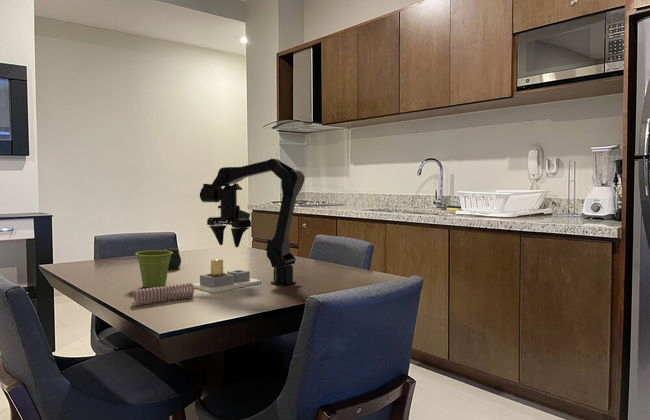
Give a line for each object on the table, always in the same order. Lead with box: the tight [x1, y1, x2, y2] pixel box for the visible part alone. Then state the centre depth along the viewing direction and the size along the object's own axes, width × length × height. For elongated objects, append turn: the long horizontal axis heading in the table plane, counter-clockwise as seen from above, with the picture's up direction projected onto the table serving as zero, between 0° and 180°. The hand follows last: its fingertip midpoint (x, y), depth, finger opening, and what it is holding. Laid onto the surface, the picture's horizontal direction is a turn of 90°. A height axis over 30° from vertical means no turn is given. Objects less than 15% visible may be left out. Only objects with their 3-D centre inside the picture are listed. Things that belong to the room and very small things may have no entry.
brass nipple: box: [210, 258, 224, 277], centre depth 162 cm, size 4×4×8 cm
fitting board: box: [192, 269, 262, 294], centre depth 165 cm, size 12×20×4 cm, turn 138°
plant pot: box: [135, 249, 173, 289], centre depth 164 cm, size 12×12×11 cm
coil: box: [131, 282, 195, 307], centre depth 143 cm, size 5×5×18 cm
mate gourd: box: [164, 245, 182, 270], centre depth 198 cm, size 7×8×10 cm
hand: (228, 246), depth 175 cm, fingers open, 9 cm apart
